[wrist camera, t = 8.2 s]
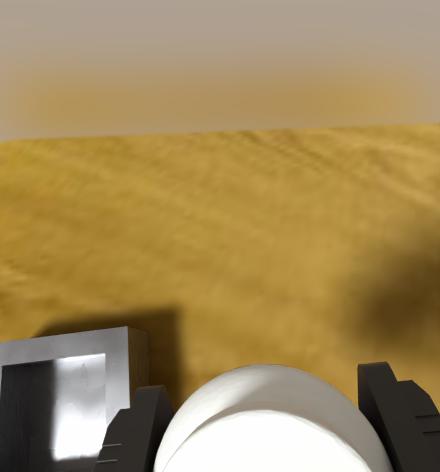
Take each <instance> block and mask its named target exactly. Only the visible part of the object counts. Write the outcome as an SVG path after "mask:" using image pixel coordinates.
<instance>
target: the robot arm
mask: <svg viewBox="0 0 440 472" xmlns="http://www.w3.org/2000/svg"><path fill="white" fill-rule="evenodd" d="M358 406H359V410H360V412H361V413H362V414H363V415H364V416H365V417H366V419H367V420H368V421H369V423H370V424H371V425H372V427H373V428H374V430H375V431H376V433H377V435H378V437H379V438H380V440H381V442H382V444H383V446H384V448H385V450H386V452H387V454H388V457H389V459H390V462H391V464H392V467H393V470H394V472H440V413H439V412H438V410H437V408H436V406H435V405H434V403H433V401H432V399H431V397H430V396H429V395H428V394H427V393H426V392H425V391H424V390H423V389H422V388H420V387H419V386H418V385H417V384H416V383H415V382H414V381H413V380H408V381H398V382H397V380H396V377H395V375H394V373H393V371H392V369H391V367H390V366H389V364H388V363H387V362H377V363H368V364H359V365H358ZM174 416H175V415H174V412H173V409H172V406H171V403H170V400H169V397H168V393H167V390H166V388H165V386H164V385H157V386H148V387H139V388H137V390H136V392H135V395H134V399H133V402H132V406H131V408H127V409H120V410H119V411H118V413H117V414H116V416H115V417H114V418H113V420H112V421H111V422H110V424H109V425H108V427H107V430H106V434H105V437H104V440H103V443H102V449H100V452H99V456H98V459H97V465H95V468H94V471H93V472H153V468H154V464H155V459H156V455H157V452H158V449H159V447H160V444H161V442H162V439H163V436H164V434H165V432H166V430H167V428H168V426H169V424H170V422H171V420H172V419H173V417H174Z"/></svg>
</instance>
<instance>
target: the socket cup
mask: <svg viewBox="0 0 440 472" xmlns="http://www.w3.org/2000/svg"><path fill="white" fill-rule="evenodd" d="M148 386H150V374H149V352H148V331H144V330H140V329H136V328H132V327H128V326H125V327H117V328H110V329H102V330H94V331H86V332H78V333H70V334H62V335H54V336H46V337H38V338H30V339H22V340H14V341H7V342H0V472H93V471H94V468H95V465H97V459H98V456H99V452H100V449H102V443H103V440H104V437H105V434H106V430H107V427H108V425H109V424H110V422H111V421H112V420H113V418H114V417H115V416H116V414H117V413H118V411H119V410H120V409H127V408H131V406H132V402H133V399H134V395H135V392H136V390H137V388H139V387H148Z"/></svg>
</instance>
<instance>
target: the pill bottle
mask: <svg viewBox="0 0 440 472" xmlns="http://www.w3.org/2000/svg"><path fill="white" fill-rule="evenodd" d="M153 472H394V470H393V467H392V464H391V462H390V459H389V457H388V454H387V452H386V450H385V448H384V446H383V444H382V442H381V440H380V438H379V437H378V435H377V433H376V431H375V430H374V428H373V427H372V425H371V424H370V423H369V421H368V420H367V419H366V417H365V416H364V415H363V414H362V413H361V412H360V410H359V409H358V408H357V407H356V406H355V405H354V404H353V403H352V402H351V401H350V400H349V399H348V398H347V397H346V396H345V395H344V394H342V393H341V392H339V391H338V390H337V389H336V388H334V387H333V386H332V385H331V384H329V383H327V382H325V381H323V380H322V379H320V378H318V377H316V376H314V375H312V374H310V373H307V372H305V371H303V370H300V369H296V368H293V367H287V366H283V365H273V364H255V365H248V366H244V367H239V368H236V369H233V370H230V371H228V372H225V373H223V374H221V375H219V376H217V377H216V378H214V379H212V380H210V381H209V382H207V383H206V384H204V385H203V386H201V387H200V388H199V389H198V390H197V391H196V392H194V393H193V394H192V395H191V396H190V397H189V398H188V399H187V400H186V401H185V402H184V404H183V405H182V406H181V408H180V409H179V410H178V411H177V413H176V414H175V416H174V417H173V419H172V420H171V422H170V424H169V426H168V428H167V430H166V432H165V434H164V436H163V439H162V442H161V444H160V447H159V449H158V452H157V455H156V459H155V464H154V468H153Z"/></svg>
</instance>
